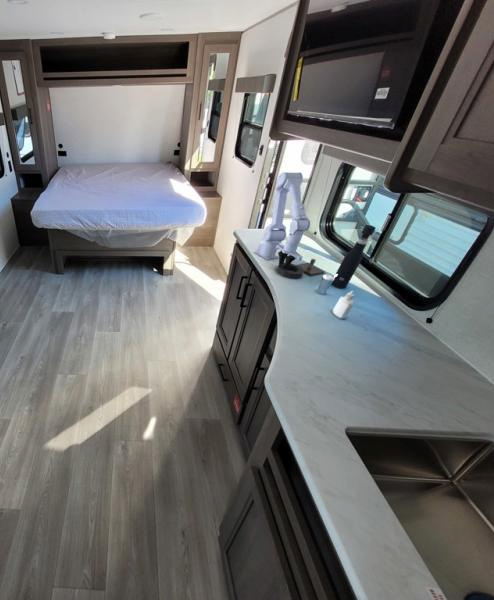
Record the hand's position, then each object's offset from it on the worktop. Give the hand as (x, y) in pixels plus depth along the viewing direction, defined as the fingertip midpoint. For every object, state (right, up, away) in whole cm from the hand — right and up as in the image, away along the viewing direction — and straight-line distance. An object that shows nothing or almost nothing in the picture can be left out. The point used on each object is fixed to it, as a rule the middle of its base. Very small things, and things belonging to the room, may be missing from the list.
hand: (282, 266), depth 160 cm
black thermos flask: (+21, -11, -11) cm, 26 cm away
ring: (+2, -4, -3) cm, 5 cm away
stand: (+14, -2, +1) cm, 14 cm away
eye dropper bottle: (+6, -24, -31) cm, 40 cm away
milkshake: (+9, -14, -17) cm, 24 cm away
